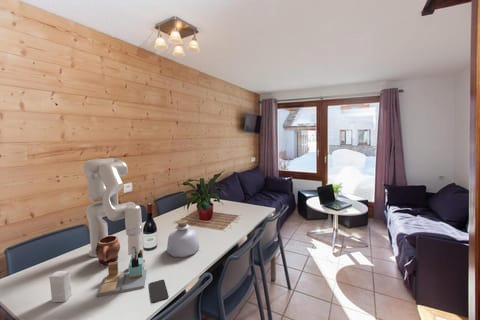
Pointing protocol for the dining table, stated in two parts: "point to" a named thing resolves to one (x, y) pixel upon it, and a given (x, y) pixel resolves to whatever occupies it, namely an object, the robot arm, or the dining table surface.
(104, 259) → the decorative planter
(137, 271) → the cube
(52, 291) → the skincare box
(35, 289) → the dining table surface
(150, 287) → the phone
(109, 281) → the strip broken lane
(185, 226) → the light grey vase
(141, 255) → the strip cube lane
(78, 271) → the dining table surface
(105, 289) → the lane board
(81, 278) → the dining table surface
